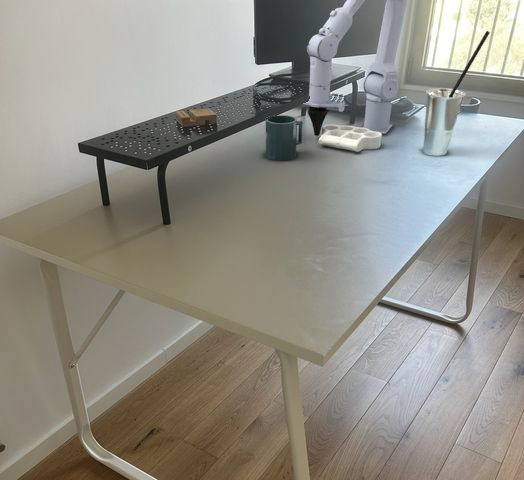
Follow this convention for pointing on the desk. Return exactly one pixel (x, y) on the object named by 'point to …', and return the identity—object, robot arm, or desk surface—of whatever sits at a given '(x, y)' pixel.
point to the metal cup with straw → (444, 112)
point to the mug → (282, 137)
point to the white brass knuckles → (349, 137)
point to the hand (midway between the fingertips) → (317, 134)
